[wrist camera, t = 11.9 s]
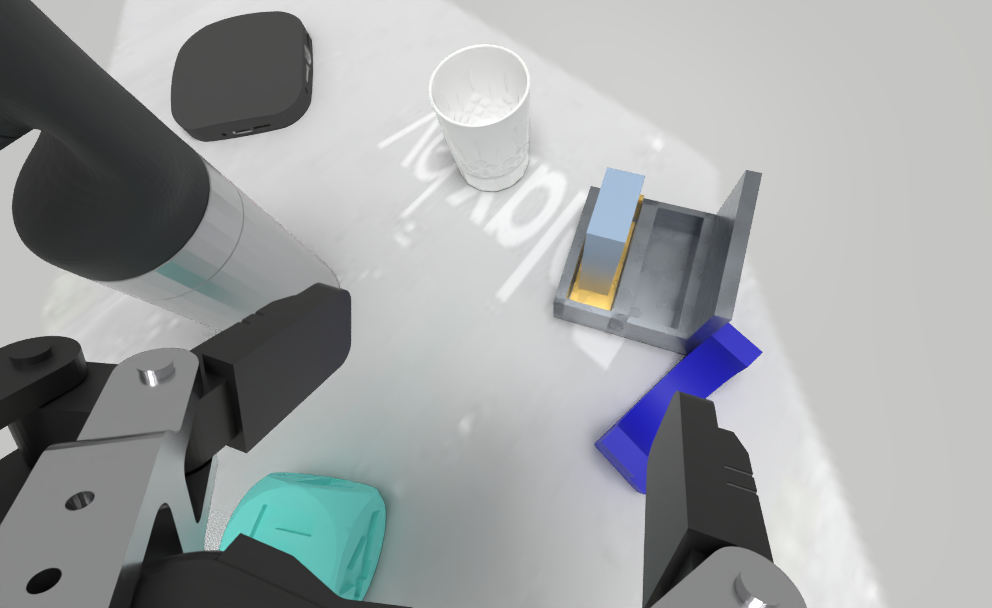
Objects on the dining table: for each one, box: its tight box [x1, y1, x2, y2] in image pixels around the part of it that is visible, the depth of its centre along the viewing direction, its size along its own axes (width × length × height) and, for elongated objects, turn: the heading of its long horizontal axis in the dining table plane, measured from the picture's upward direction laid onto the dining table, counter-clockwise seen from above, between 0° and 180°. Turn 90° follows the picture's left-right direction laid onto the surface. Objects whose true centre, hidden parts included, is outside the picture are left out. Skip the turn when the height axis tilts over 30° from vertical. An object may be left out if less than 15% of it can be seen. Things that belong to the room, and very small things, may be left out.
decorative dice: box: [219, 473, 386, 601], centre depth 32 cm, size 8×8×8 cm
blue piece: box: [594, 323, 762, 494], centre depth 34 cm, size 12×4×6 cm, turn 131°
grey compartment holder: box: [554, 170, 762, 355], centre depth 35 cm, size 11×10×10 cm
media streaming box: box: [171, 11, 313, 141], centre depth 51 cm, size 15×15×3 cm
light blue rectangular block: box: [578, 167, 645, 296], centre depth 35 cm, size 2×5×10 cm, turn 161°
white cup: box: [428, 44, 530, 191], centre depth 41 cm, size 8×8×10 cm
